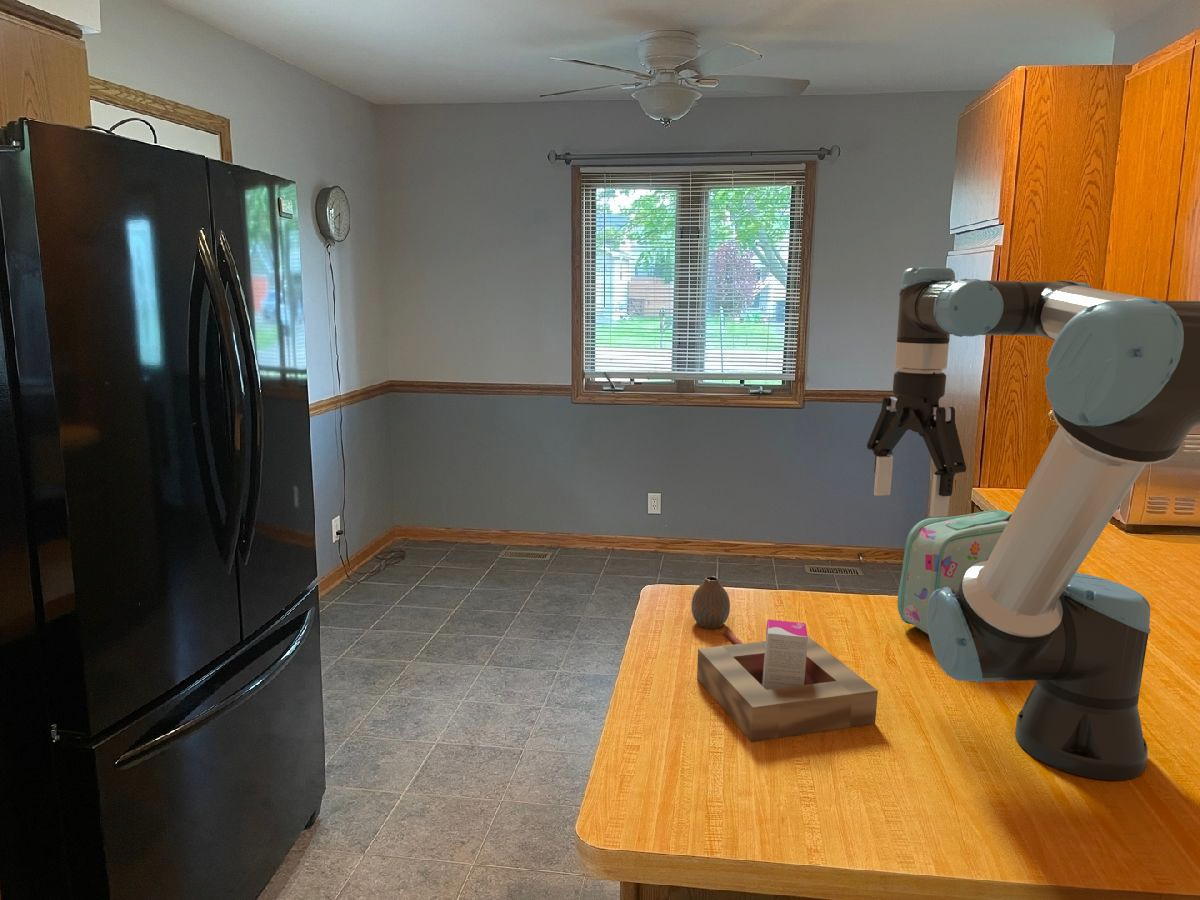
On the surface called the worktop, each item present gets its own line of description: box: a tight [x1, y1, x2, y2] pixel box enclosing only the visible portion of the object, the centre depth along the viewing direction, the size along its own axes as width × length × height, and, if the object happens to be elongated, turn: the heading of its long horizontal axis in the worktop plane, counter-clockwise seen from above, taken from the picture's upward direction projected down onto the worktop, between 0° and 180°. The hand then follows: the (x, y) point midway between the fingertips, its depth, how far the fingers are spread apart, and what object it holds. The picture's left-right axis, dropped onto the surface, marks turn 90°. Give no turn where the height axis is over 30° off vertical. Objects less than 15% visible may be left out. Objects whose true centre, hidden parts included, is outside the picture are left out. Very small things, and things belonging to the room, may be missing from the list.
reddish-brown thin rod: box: [723, 628, 743, 644], centre depth 140 cm, size 12×1×1 cm, turn 16°
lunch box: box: [897, 509, 1013, 636], centre depth 149 cm, size 27×10×21 cm, turn 115°
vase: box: [690, 575, 731, 630], centre depth 149 cm, size 7×7×9 cm
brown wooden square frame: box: [696, 635, 879, 743], centre depth 122 cm, size 19×19×5 cm
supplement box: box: [761, 619, 808, 690], centre depth 121 cm, size 6×6×12 cm
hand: (908, 505), depth 131 cm, fingers open, 13 cm apart
